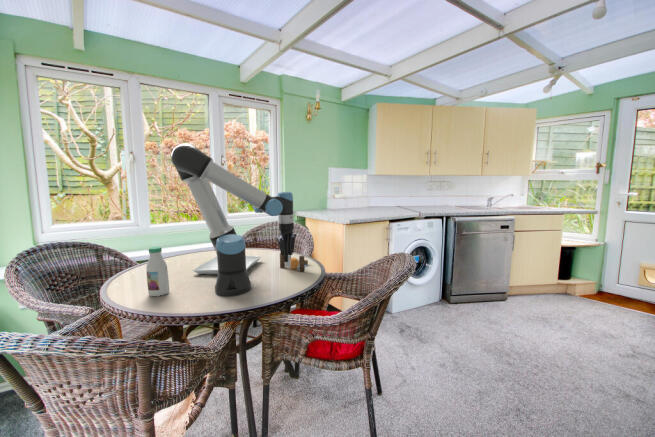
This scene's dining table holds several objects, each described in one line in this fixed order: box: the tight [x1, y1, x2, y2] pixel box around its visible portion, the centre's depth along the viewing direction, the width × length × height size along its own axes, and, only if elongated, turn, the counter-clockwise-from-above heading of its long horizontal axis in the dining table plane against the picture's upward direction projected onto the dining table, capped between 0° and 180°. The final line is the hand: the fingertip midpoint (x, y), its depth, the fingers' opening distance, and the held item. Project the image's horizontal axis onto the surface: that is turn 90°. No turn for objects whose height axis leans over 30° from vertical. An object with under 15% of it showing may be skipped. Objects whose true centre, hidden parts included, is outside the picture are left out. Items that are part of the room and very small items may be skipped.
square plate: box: [192, 255, 262, 275], centre depth 158 cm, size 27×27×4 cm
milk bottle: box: [145, 246, 170, 297], centre depth 123 cm, size 8×8×20 cm
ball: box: [290, 257, 299, 270], centre depth 155 cm, size 6×6×6 cm
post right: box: [298, 255, 306, 273], centre depth 151 cm, size 3×3×8 cm
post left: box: [279, 252, 285, 269], centre depth 158 cm, size 3×3×8 cm
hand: (288, 267), depth 151 cm, fingers closed
